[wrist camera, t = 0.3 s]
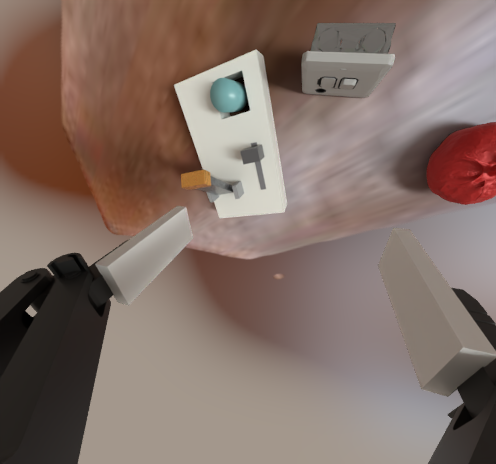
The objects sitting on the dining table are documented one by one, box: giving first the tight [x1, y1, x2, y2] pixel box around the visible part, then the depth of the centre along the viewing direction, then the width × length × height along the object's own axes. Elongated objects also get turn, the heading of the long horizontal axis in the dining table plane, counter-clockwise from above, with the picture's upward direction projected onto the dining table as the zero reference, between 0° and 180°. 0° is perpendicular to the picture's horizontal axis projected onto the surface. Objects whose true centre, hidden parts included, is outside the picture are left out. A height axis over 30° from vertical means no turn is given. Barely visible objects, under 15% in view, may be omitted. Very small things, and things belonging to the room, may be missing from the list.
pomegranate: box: [427, 122, 496, 205], centre depth 25 cm, size 10×10×9 cm
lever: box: [181, 170, 234, 195], centre depth 33 cm, size 2×4×10 cm, turn 105°
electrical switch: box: [302, 23, 396, 98], centre depth 24 cm, size 9×5×9 cm, turn 86°
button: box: [210, 78, 248, 113], centre depth 29 cm, size 4×4×5 cm
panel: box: [174, 50, 287, 218], centre depth 35 cm, size 24×14×7 cm, turn 14°
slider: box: [240, 144, 264, 165], centre depth 32 cm, size 2×3×3 cm
